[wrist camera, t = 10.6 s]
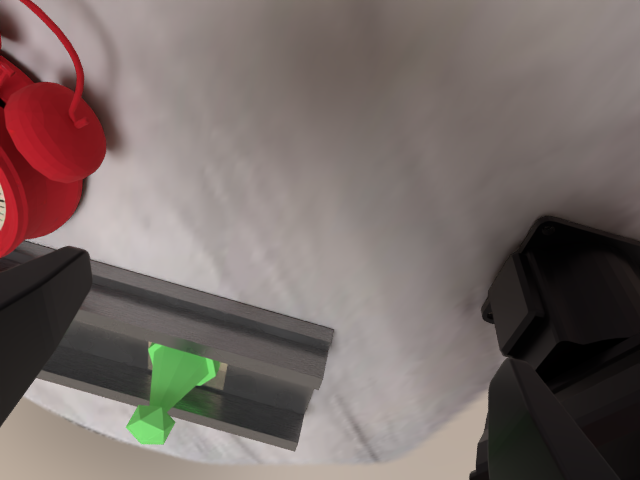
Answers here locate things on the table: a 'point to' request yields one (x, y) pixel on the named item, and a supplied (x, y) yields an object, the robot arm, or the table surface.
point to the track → (192, 337)
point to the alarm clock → (43, 149)
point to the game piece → (168, 390)
